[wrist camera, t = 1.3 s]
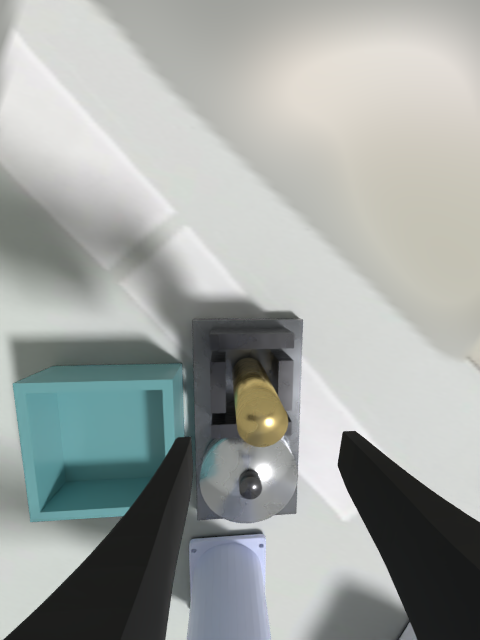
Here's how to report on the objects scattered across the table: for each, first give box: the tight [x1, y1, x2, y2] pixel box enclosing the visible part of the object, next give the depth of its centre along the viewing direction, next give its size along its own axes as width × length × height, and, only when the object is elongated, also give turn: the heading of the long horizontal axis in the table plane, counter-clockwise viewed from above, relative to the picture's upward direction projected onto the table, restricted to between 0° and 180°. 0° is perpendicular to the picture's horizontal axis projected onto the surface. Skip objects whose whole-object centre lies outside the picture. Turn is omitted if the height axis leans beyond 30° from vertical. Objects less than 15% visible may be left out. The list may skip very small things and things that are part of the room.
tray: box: [13, 363, 184, 522], centre depth 20 cm, size 12×12×4 cm
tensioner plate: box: [192, 318, 303, 523], centre depth 21 cm, size 20×10×4 cm, turn 0°
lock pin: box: [232, 358, 288, 447], centre depth 17 cm, size 3×3×8 cm
